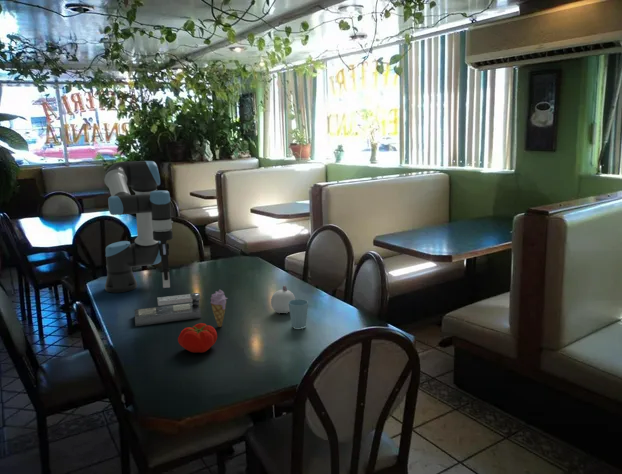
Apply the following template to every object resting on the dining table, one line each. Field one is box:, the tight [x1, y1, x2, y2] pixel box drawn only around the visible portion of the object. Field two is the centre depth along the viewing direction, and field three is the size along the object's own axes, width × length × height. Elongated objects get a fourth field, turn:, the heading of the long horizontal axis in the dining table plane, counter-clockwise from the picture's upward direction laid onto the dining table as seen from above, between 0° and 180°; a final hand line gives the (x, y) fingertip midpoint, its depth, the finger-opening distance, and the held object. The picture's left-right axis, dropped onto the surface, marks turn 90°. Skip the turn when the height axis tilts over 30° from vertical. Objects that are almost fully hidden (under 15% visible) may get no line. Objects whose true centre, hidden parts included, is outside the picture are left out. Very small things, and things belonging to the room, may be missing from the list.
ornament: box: [270, 285, 296, 314], centre depth 214 cm, size 10×10×12 cm
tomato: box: [177, 322, 218, 353], centre depth 177 cm, size 14×13×9 cm
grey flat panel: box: [156, 292, 201, 307], centre depth 214 cm, size 6×18×2 cm, turn 110°
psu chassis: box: [134, 300, 202, 327], centre depth 211 cm, size 12×26×5 cm, turn 110°
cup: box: [289, 298, 309, 328], centre depth 198 cm, size 8×8×10 cm
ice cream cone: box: [210, 289, 229, 328], centre depth 199 cm, size 7×6×15 cm
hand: (166, 286), depth 203 cm, fingers closed
